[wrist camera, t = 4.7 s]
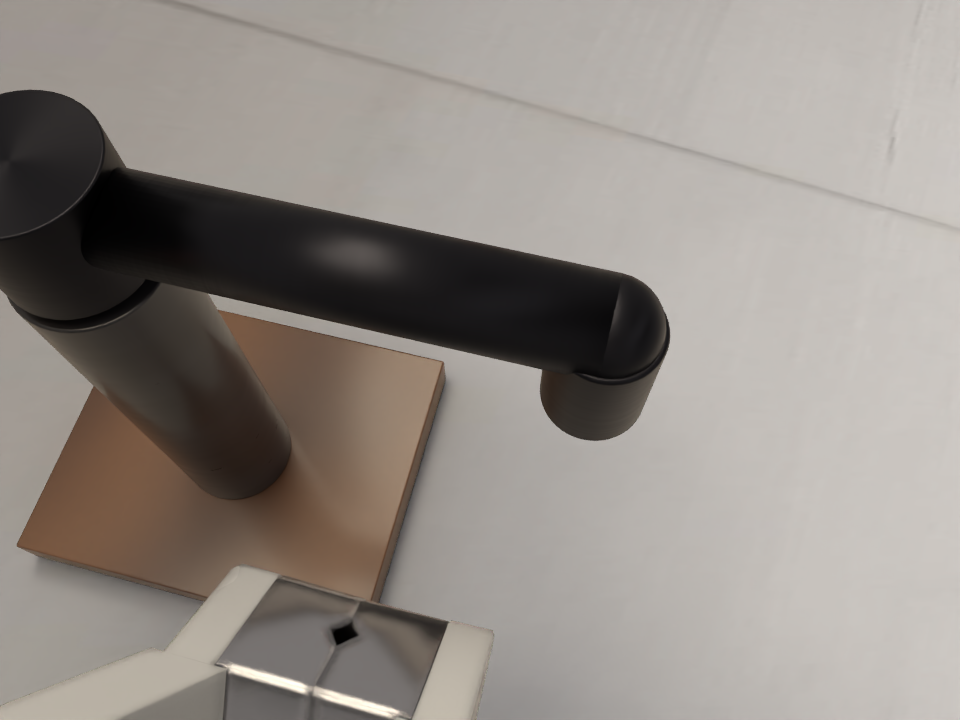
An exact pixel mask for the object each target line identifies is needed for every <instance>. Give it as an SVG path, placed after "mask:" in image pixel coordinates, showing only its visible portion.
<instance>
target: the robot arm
mask: <svg viewBox="0 0 960 720" xmlns="http://www.w3.org/2000/svg"><path fill="white" fill-rule="evenodd" d="M493 640H494V633H493V630H489V629H485V628H481V627H476V626H472V625H468V624H464V623H460V622H456V621H450V622H449V621H445V620H442V619H438V618H434V617H430V616H426V615H423V614H419V613H415V612H411V611H407V610H404V609H400V608H396V607H392V606H388V605H385V604H381V603H377V602H373V601H370V600H366V599H364V598H361V597H358V596H354V595H351V594H347V593H344V592H340V591H337V590H334V589H330V588H327V587H323V586H320V585H317V584H313V583H310V582H306V581H303V580H300V579H296V578H293V577H289V576H286V575H283V576H282V575H280V574H278V573H274V572H270V571H267V570H263V569H260V568H256V567H253V566H249V565H245V564H241V565H239V566H236V567H234V568H233V569H231V571H230V572H229V573H228V574H227V575H226V577H225V578H224V579H223V580H222V581H221V583H220V584H219V585H218V586H217V587H216V589H215V590H214V591H213V592H212V593H211V595H210V596H209V597H208V598H207V599H206V601H205V602H204V603H203V604H202V605H201V607H200V608H199V609H198V610H197V611H196V613H195V614H194V615H193V616H192V617H191V619H190V620H189V621H188V622H187V623H186V625H185V626H184V627H183V628H182V629H181V631H180V632H179V633H178V634H177V635H176V637H175V638H174V639H173V640H172V641H171V643H170V644H169V645H168V646H167V647H166V649H165V650H164V651H161V650H158V649H154V648H149V649H146V650H143V651H141V652H138V653H136V654H133V655H130V656H128V657H125V658H123V659H120V660H117V661H115V662H112V663H110V664H107V665H104V666H102V667H99V668H97V669H94V670H91V671H89V672H86V673H84V674H81V675H78V676H76V677H73V678H71V679H68V680H65V681H63V682H60V683H58V684H55V685H52V686H50V687H47V688H45V689H42V690H39V691H37V692H34V693H31V694H29V695H26V696H24V697H21V698H18V699H16V700H13V701H11V702H8V703H5V704H3V705H0V720H476V719H477V714H478V710H479V705H480V700H481V696H482V691H483V687H484V682H485V678H486V673H487V669H488V664H489V659H490V655H491V650H492V646H493Z"/></svg>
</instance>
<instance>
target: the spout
mask: <svg viewBox="0 0 960 720" xmlns="http://www.w3.org/2000/svg"><path fill="white" fill-rule="evenodd" d="M146 279H147V280H152V281H156V282H161V283H165V284H169V285H174V286H178V287H183V288H187V289H191V290H196V291H200V292H204V293H209V294H213V295H218V296H222V297H226V298H231V299H235V300H240V301H244V302H248V303H253V304H257V305H262V306H266V307H270V308H275V309H279V310H283V311H288V312H292V313H297V314H301V315H305V316H310V317H314V318H319V319H323V320H327V321H332V322H336V323H341V324H345V325H349V326H354V327H358V328H362V329H367V330H371V331H376V332H380V333H384V334H389V335H393V336H398V337H402V338H406V339H411V340H415V341H420V342H424V343H428V344H433V345H437V346H441V347H446V348H450V349H455V350H459V351H463V352H468V353H472V354H477V355H481V356H485V357H490V358H494V359H499V360H503V361H507V362H512V363H516V364H520V365H525V366H529V367H534V368H538V369H542V376H541V384H540V396H541V401H542V405H543V407H544V410H545V412H546V413H547V415H548V417H549V418H550V419H551V421H552V422H553V423H554V424H555V425H556V426H557V427H558V428H560V429H561V430H562V431H564V432H566V433H567V434H569V435H571V436H574V437H576V438H580V439H584V440H592V441H598V440H606V439H610V438H613V437H616V436H618V435H620V434H622V433H624V432H625V431H627V430H628V429H629V428H630V427H631V426H632V425H633V424H634V423H635V422H636V421H637V419H638V417H639V416H640V414H641V412H642V409H643V407H644V405H645V402H646V400H647V397H648V395H649V393H650V390H651V388H652V386H653V383H654V381H655V379H656V376H657V374H658V372H659V369H660V367H661V365H662V362H663V360H664V358H665V355H666V353H667V351H668V347H669V343H670V327H669V322H668V319H667V316H666V314H665V312H664V310H663V307H662V305H661V303H660V301H659V299H658V297H657V296H656V295H655V294H654V292H653V291H652V290H651V289H650V288H649V287H648V286H647V285H646V284H644V283H643V282H642V281H640V280H638V279H636V278H634V277H632V276H629V275H626V274H623V273H619V272H614V271H609V270H604V269H600V268H595V267H590V266H586V265H581V264H576V263H572V262H567V261H562V260H557V259H553V258H548V257H543V256H539V255H534V254H529V253H524V252H520V251H515V250H510V249H506V248H501V247H496V246H491V245H487V244H482V243H477V242H473V241H468V240H463V239H458V238H454V237H449V236H444V235H440V234H435V233H430V232H425V231H421V230H416V229H411V228H407V227H402V226H397V225H393V224H388V223H383V222H378V221H374V220H369V219H364V218H360V217H355V216H350V215H345V214H341V213H336V212H331V211H327V210H322V209H317V208H312V207H308V206H303V205H298V204H294V203H289V202H284V201H279V200H275V199H270V198H265V197H261V196H256V195H251V194H247V193H242V192H237V191H232V190H228V189H223V188H218V187H214V186H209V185H204V184H199V183H195V182H190V181H185V180H181V179H176V178H171V177H166V176H162V175H157V174H152V173H148V172H143V171H138V170H133V169H129V168H126V166H125V164H124V163H123V161H122V160H121V158H120V156H119V155H118V153H117V151H116V150H115V148H114V146H113V145H112V143H111V142H110V140H109V138H108V137H107V135H106V133H105V132H104V130H103V128H102V127H101V125H100V124H99V122H98V120H97V119H96V117H95V116H94V115H93V114H92V113H91V112H90V110H88V109H87V108H86V107H85V106H83V105H82V104H81V103H79V102H77V101H75V100H74V99H72V98H70V97H67V96H65V95H62V94H58V93H55V92H50V91H43V90H21V91H13V92H7V93H3V94H0V289H1V290H2V291H3V292H4V293H5V294H6V295H7V296H8V297H9V298H10V299H11V300H12V301H13V302H14V303H15V304H16V305H17V306H19V307H20V308H22V309H23V310H25V311H27V312H29V313H31V314H33V315H36V316H39V317H43V318H48V319H54V320H73V319H80V318H86V317H90V316H93V315H96V314H99V313H102V312H104V311H106V310H109V309H111V308H112V307H114V306H116V305H118V304H119V303H121V302H122V301H124V300H125V299H127V298H128V297H129V296H130V295H132V294H133V293H134V292H135V291H136V290H137V289H138V288H139V287H140V286H141V285H142V284H143V282H144V281H145V280H146Z"/></svg>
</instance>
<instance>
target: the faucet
mask: <svg viewBox="0 0 960 720" xmlns="http://www.w3.org/2000/svg"><path fill="white" fill-rule="evenodd" d="M7 297H8V296H7ZM8 299H9V301H10V303H11V305H12V306H13V308H14V309H15V310H16V312H17V313H18V314H19V315H20V316H21V317H22V318H24V319H25V320H26V321H27V322H28V323H29V324H30V325H31V326H32V327H33V328H34V329H35V330H36V331H37V332H38V333H39V334H40V335H41V336H42V337H43V338H44V339H45V340H47V341H48V342H49V343H50V344H51V345H52V346H53V347H54V348H55V349H56V350H57V351H58V352H59V353H60V354H61V355H62V356H63V357H64V358H65V359H66V360H67V361H68V362H70V363H71V364H72V365H73V366H74V367H75V368H76V369H77V370H78V371H79V372H80V373H81V374H82V375H83V376H84V377H85V378H86V379H87V380H88V381H89V382H90V383H91V384H93V385H94V387H93V389H92V391H91V393H90V395H89V397H88V399H87V401H86V403H85V405H84V407H83V409H82V411H81V413H80V416H79V418H78V420H77V422H76V424H75V426H74V428H73V430H72V432H71V434H70V436H69V438H68V440H67V442H66V444H65V446H64V448H63V450H62V453H61V455H60V457H59V459H58V461H57V463H56V465H55V467H54V469H53V471H52V473H51V475H50V477H49V479H48V481H47V483H46V485H45V488H44V490H43V492H42V494H41V496H40V498H39V500H38V502H37V504H36V506H35V508H34V510H33V512H32V514H31V516H30V518H29V520H28V522H27V525H26V527H25V529H24V531H23V533H22V535H21V537H20V539H19V541H18V543H17V547H19V548H21V549H23V550H25V551H28V552H30V553H32V554H34V555H36V556H39V557H43V558H46V559H50V560H54V561H58V562H61V563H65V564H69V565H72V566H76V567H80V568H83V569H87V570H91V571H94V572H98V573H102V574H105V575H109V576H113V577H116V578H120V579H124V580H127V581H131V582H135V583H138V584H142V585H146V586H149V587H153V588H157V589H160V590H164V591H168V592H171V593H175V594H179V595H182V596H186V597H190V598H193V599H197V600H201V601H204V602H205V601H206V599H207V598H208V597H209V596H210V595H211V593H212V592H213V591H214V590H215V589H216V587H217V586H218V585H219V584H220V583H221V581H222V580H223V579H224V578H225V577H226V575H227V574H228V573H229V572H230V571H231V569H233V568H234V567H236V566H239V565H241V564H245V565H249V566H253V567H256V568H260V569H263V570H267V571H270V572H274V573H278V574H280V575H282V576H283V575H286V576H289V577H293V578H296V579H300V580H303V581H306V582H310V583H313V584H317V585H320V586H323V587H327V588H330V589H334V590H337V591H340V592H344V593H347V594H351V595H354V596H358V597H361V598H364V599H366V600H370V601H373V602H377V603H379V600H380V596H381V593H382V590H383V586H384V583H385V580H386V576H387V573H388V570H389V566H390V563H391V560H392V556H393V553H394V550H395V546H396V543H397V540H398V536H399V533H400V530H401V526H402V523H403V520H404V516H405V513H406V510H407V506H408V503H409V500H410V496H411V493H412V490H413V486H414V483H415V480H416V476H417V473H418V470H419V466H420V463H421V460H422V456H423V453H424V450H425V446H426V443H427V440H428V436H429V433H430V430H431V426H432V423H433V420H434V416H435V413H436V410H437V406H438V403H439V400H440V396H441V393H442V390H443V386H444V383H445V380H446V377H445V369H444V362H442V361H438V360H434V359H429V358H425V357H421V356H416V355H412V354H408V353H403V352H399V351H395V350H390V349H386V348H381V347H377V346H373V345H368V344H364V343H360V342H355V341H351V340H347V339H342V338H338V337H334V336H329V335H325V334H321V333H316V332H312V331H308V330H303V329H299V328H294V327H290V326H286V325H281V324H277V323H273V322H268V321H264V320H260V319H255V318H251V317H247V316H242V315H238V314H234V313H229V312H225V311H221V310H217V308H216V306H215V305H214V303H213V301H212V300H211V298H210V296H209V295H208V293H204V292H200V291H196V290H191V289H187V288H183V287H178V286H174V285H169V284H165V283H161V282H156V281H152V280H147V279H146V280H145V281H144V282H143V284H142V285H141V286H140V287H139V288H138V289H137V290H136V291H135V292H134V293H133V294H132V295H130V296H129V297H128V298H127V299H125V300H124V301H122V302H121V303H119V304H118V305H116V306H114V307H112V308H111V309H109V310H106V311H104V312H102V313H99V314H96V315H93V316H90V317H86V318H80V319H73V320H54V319H48V318H43V317H39V316H36V315H33V314H31V313H29V312H27V311H25V310H23V309H22V308H20V307H19V306H17V305H16V304H15V303H14V302H13V301H12V300H11V299H10V298H9V297H8Z"/></svg>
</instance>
